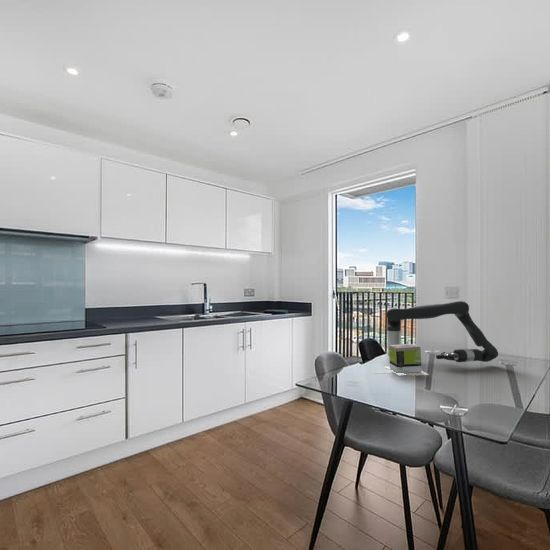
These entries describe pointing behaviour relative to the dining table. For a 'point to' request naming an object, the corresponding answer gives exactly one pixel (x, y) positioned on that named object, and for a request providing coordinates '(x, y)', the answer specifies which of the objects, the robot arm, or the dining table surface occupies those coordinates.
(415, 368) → the tea box
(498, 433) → the dining table surface
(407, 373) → the T mat
